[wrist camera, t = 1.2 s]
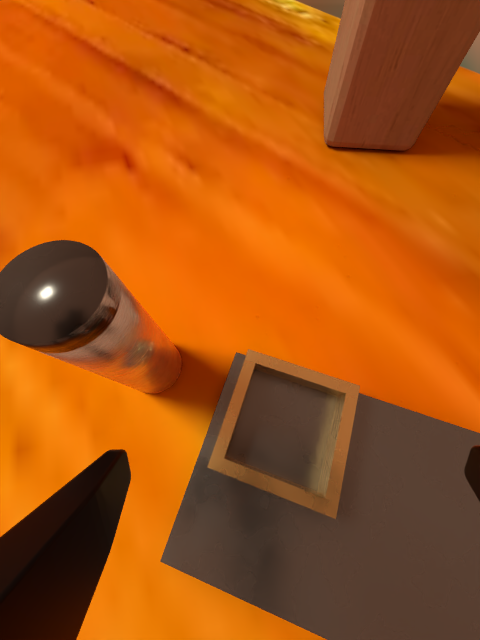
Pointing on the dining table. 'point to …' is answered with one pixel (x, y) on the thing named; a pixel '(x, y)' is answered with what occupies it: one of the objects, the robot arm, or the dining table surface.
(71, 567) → the robot arm
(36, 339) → the shiny metal cylinder
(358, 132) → the wooden block
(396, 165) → the dining table surface
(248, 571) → the dark grey flat slab
